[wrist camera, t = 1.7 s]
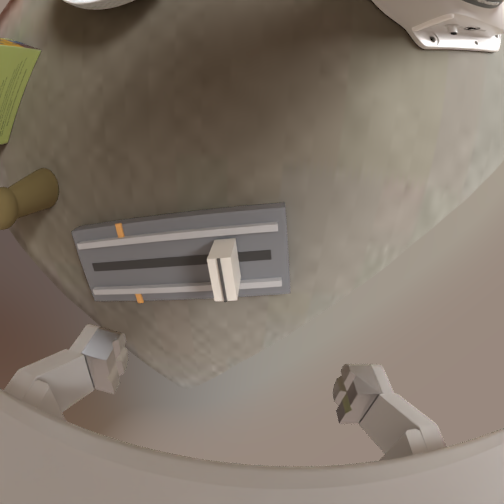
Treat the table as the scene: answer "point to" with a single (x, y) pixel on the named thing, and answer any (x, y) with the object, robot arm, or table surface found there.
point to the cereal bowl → (97, 3)
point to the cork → (28, 196)
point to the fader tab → (224, 269)
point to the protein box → (13, 80)
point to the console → (184, 253)
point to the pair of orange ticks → (120, 235)
